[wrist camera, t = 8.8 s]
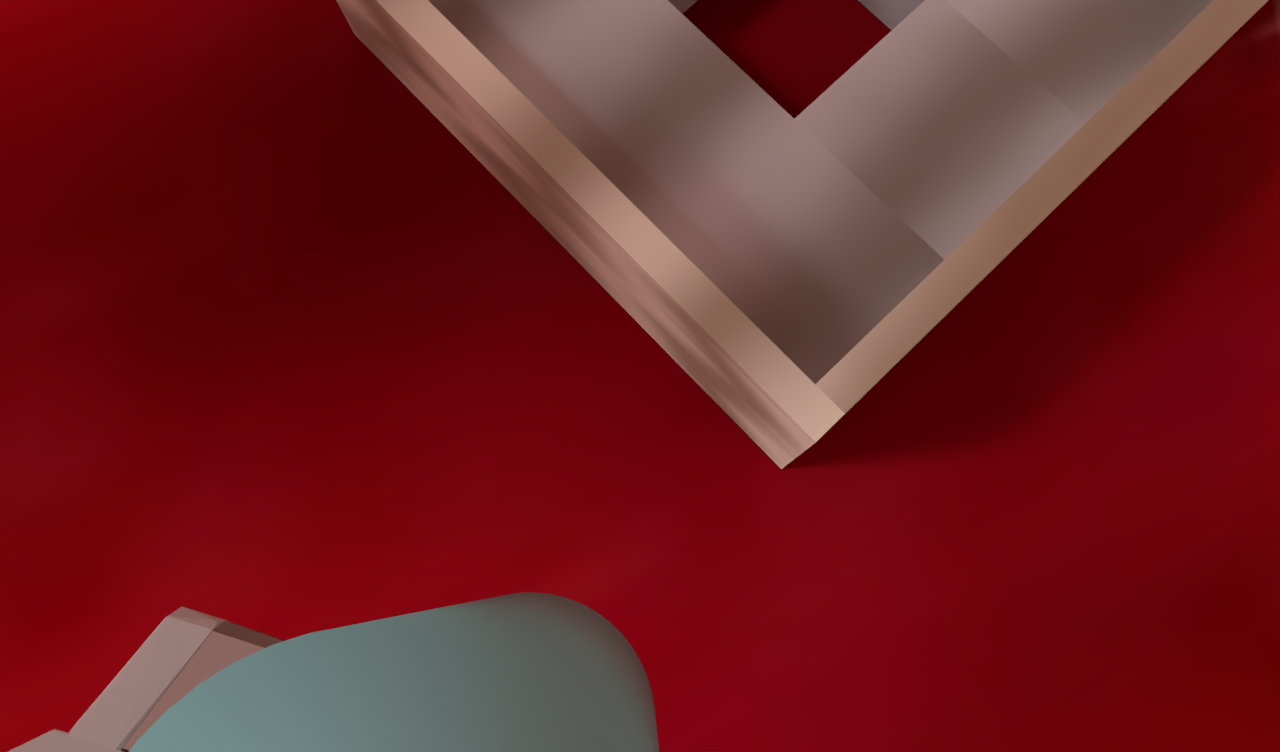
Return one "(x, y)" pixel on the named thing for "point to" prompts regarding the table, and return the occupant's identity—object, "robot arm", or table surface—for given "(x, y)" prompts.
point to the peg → (428, 687)
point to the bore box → (792, 165)
